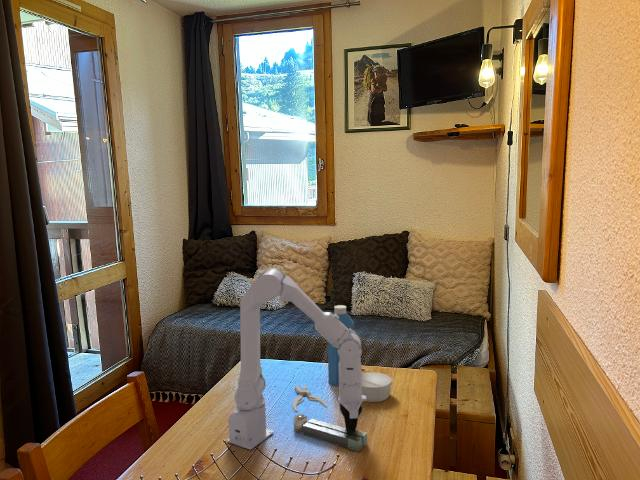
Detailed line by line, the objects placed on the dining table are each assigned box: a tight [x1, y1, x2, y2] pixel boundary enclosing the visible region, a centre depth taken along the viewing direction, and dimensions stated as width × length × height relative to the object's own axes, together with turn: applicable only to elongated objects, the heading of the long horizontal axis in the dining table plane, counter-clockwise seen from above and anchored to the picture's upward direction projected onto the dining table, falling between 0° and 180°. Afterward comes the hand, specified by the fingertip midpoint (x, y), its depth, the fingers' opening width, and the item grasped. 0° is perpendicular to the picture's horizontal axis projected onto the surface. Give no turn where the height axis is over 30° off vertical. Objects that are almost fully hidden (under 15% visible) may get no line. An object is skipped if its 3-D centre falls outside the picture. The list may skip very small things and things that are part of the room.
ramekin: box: [361, 372, 393, 403], centre depth 146 cm, size 11×11×5 cm
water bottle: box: [327, 304, 355, 387], centre depth 156 cm, size 9×9×25 cm
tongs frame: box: [293, 413, 364, 453], centre depth 122 cm, size 4×20×4 cm, turn 58°
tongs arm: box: [307, 418, 368, 448], centre depth 122 cm, size 2×16×3 cm, turn 58°
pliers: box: [292, 384, 328, 413], centre depth 145 cm, size 10×2×15 cm
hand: (351, 431), depth 122 cm, fingers closed
